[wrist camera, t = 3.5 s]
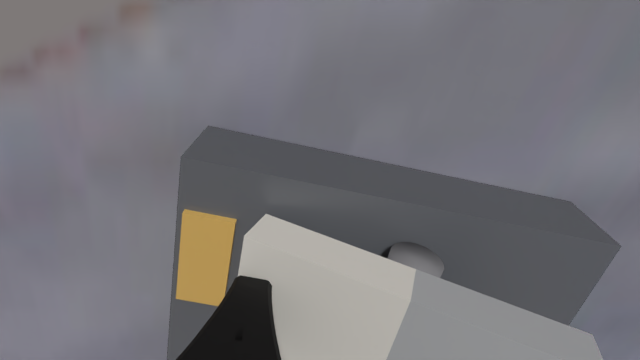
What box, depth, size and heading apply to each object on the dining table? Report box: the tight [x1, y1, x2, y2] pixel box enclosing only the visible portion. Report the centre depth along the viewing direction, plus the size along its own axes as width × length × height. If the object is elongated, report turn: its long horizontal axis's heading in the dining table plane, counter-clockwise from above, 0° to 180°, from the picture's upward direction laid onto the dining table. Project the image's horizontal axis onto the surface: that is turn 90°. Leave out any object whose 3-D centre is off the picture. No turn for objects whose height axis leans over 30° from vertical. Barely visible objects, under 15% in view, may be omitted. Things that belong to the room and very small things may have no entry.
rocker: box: [238, 214, 603, 360], centre depth 10 cm, size 8×4×3 cm, turn 78°
